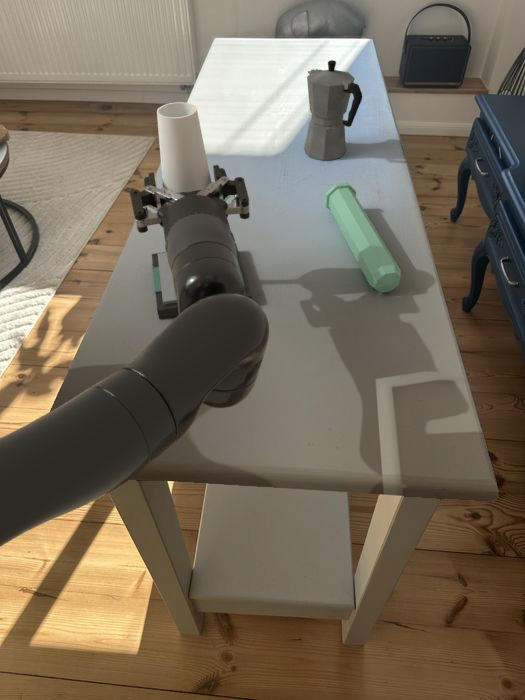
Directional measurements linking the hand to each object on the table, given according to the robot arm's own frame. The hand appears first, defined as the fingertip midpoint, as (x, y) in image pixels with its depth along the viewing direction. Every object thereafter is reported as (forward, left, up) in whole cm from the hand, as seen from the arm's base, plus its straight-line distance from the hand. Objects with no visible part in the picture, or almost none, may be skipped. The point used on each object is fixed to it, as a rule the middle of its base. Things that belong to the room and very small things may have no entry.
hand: (184, 175), depth 64 cm
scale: (0, -1, -18) cm, 18 cm away
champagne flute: (0, -1, -15) cm, 15 cm away
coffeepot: (+18, +46, -18) cm, 53 cm away
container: (+25, +11, -18) cm, 33 cm away
